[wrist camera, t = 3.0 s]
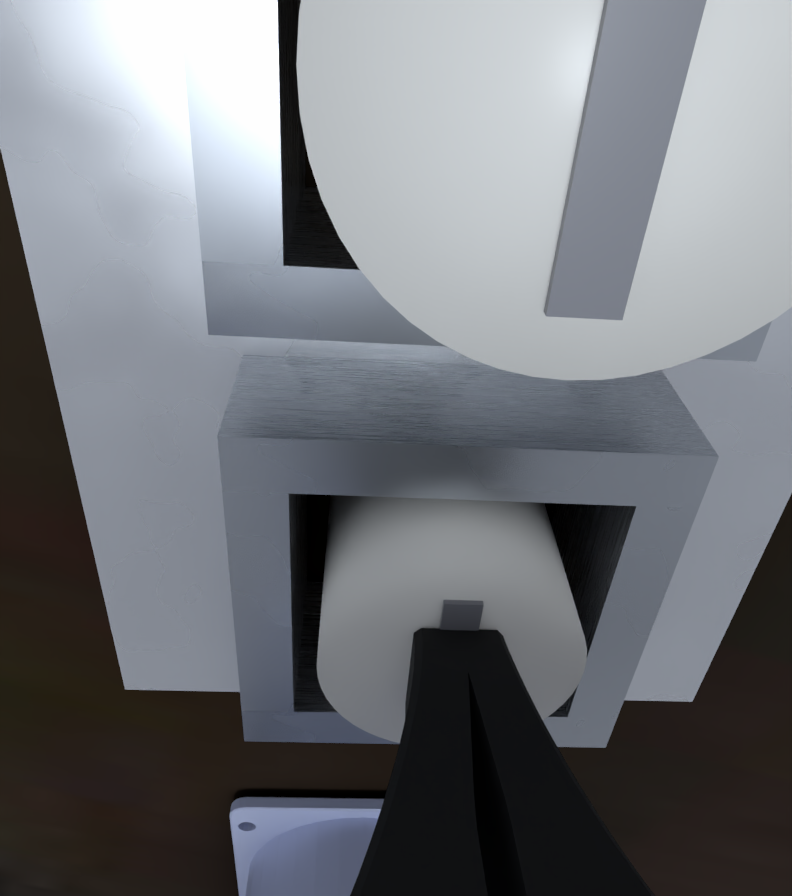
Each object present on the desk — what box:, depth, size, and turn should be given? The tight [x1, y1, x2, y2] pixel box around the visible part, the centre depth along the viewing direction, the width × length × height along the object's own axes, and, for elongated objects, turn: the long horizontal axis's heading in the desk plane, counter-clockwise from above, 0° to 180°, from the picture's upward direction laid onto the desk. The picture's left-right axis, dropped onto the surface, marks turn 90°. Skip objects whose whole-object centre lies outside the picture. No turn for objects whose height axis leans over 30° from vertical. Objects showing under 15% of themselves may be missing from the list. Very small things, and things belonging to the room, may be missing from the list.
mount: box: [0, 0, 792, 748], centre depth 12 cm, size 20×14×4 cm
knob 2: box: [317, 495, 587, 743], centre depth 14 cm, size 4×4×4 cm
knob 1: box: [296, 0, 792, 380], centre depth 6 cm, size 4×4×4 cm
